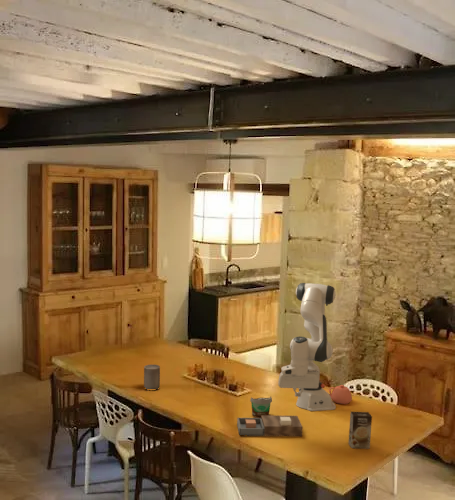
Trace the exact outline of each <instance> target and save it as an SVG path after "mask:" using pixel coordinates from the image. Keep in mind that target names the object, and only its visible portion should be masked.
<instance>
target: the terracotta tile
mask: <svg viewBox="0 0 455 500" xmlns="http://www.w3.org/2000/svg"><path fill="white" fill-rule="evenodd" d="M245 425H246V428H256V421H255V420H245Z"/></svg>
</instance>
